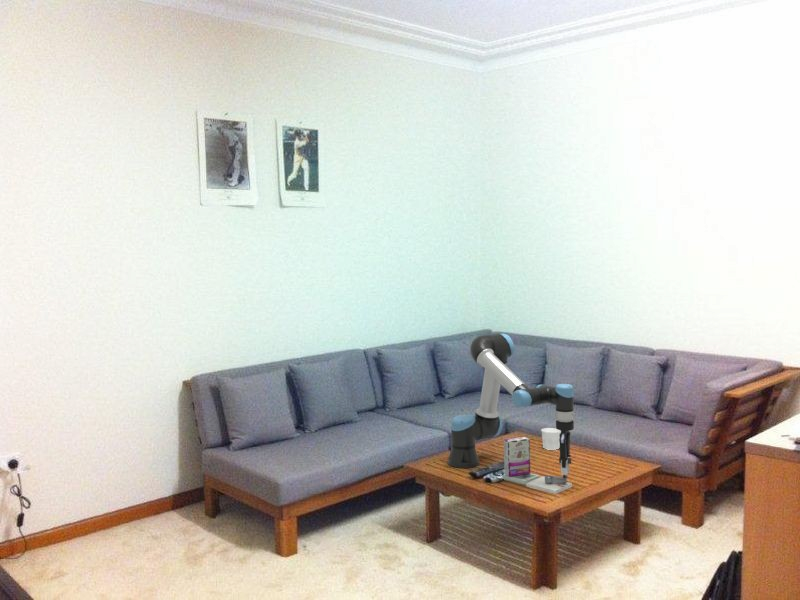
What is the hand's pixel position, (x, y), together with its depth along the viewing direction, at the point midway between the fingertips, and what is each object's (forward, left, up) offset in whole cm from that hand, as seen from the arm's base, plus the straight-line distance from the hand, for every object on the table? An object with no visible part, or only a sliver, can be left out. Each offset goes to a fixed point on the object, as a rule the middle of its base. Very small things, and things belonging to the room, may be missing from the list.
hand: (565, 473), depth 314 cm
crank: (-3, -1, -5) cm, 5 cm away
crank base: (-6, -3, -6) cm, 9 cm away
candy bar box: (-23, -3, -5) cm, 24 cm away
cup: (-39, +50, -7) cm, 63 cm away
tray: (-23, -3, -6) cm, 24 cm away
